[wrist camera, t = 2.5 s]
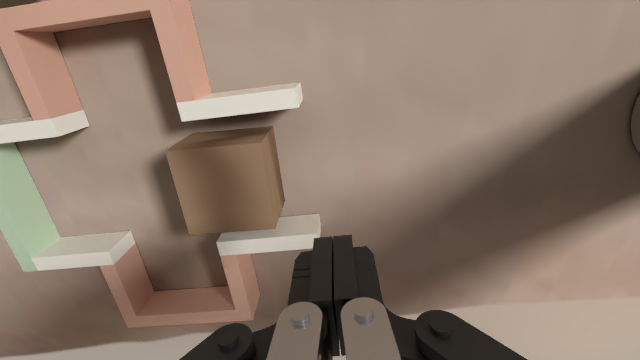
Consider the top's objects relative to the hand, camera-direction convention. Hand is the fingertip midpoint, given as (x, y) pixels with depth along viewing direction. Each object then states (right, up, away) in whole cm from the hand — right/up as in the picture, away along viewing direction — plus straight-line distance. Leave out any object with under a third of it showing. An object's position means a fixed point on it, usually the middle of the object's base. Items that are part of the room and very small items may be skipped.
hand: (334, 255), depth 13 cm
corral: (-13, +3, +13) cm, 18 cm away
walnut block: (-7, +4, +12) cm, 15 cm away
